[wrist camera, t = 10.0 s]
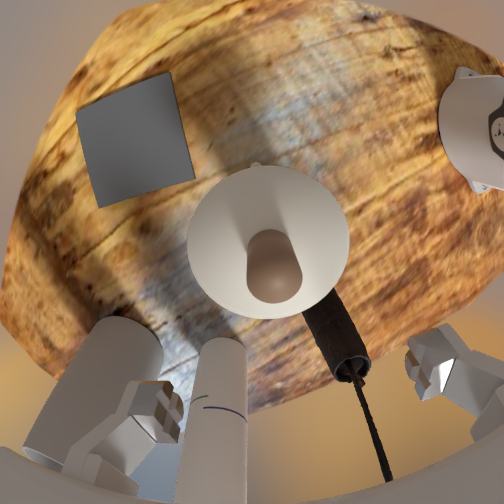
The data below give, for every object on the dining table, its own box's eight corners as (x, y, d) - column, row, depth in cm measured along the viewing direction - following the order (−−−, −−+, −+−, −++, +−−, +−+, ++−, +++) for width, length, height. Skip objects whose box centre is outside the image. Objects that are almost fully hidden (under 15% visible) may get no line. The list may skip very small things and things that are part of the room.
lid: (333, 152, 17) (362, 157, 12) (349, 294, 21) (371, 333, 16) (170, 187, 18) (144, 204, 13) (214, 322, 22) (207, 365, 17)
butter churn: (353, 316, 38) (430, 494, 12) (289, 331, 38) (321, 530, 12) (350, 260, 34) (472, 455, 8) (278, 276, 35) (317, 514, 9)
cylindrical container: (250, 369, 41) (250, 520, 18) (205, 371, 42) (184, 517, 18) (244, 335, 39) (241, 508, 15) (195, 338, 39) (161, 501, 16)
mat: (170, 72, 25) (169, 71, 25) (195, 178, 30) (194, 179, 30) (77, 113, 26) (75, 112, 26) (101, 207, 31) (99, 208, 31)
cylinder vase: (86, 309, 37) (3, 431, 14) (157, 316, 37) (94, 475, 14) (106, 366, 42) (55, 480, 19) (170, 375, 42) (137, 509, 19)
